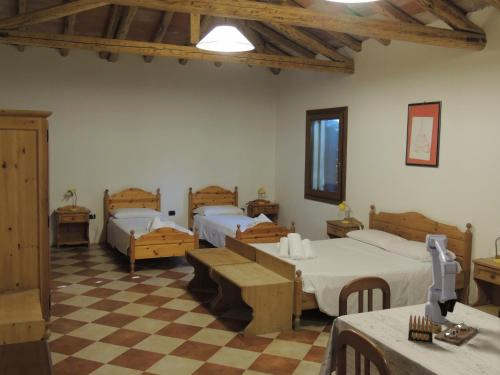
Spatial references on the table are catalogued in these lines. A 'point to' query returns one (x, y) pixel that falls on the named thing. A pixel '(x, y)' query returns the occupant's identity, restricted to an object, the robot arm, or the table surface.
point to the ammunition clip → (421, 330)
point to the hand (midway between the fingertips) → (447, 314)
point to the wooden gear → (437, 328)
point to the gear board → (461, 334)
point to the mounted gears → (456, 331)
